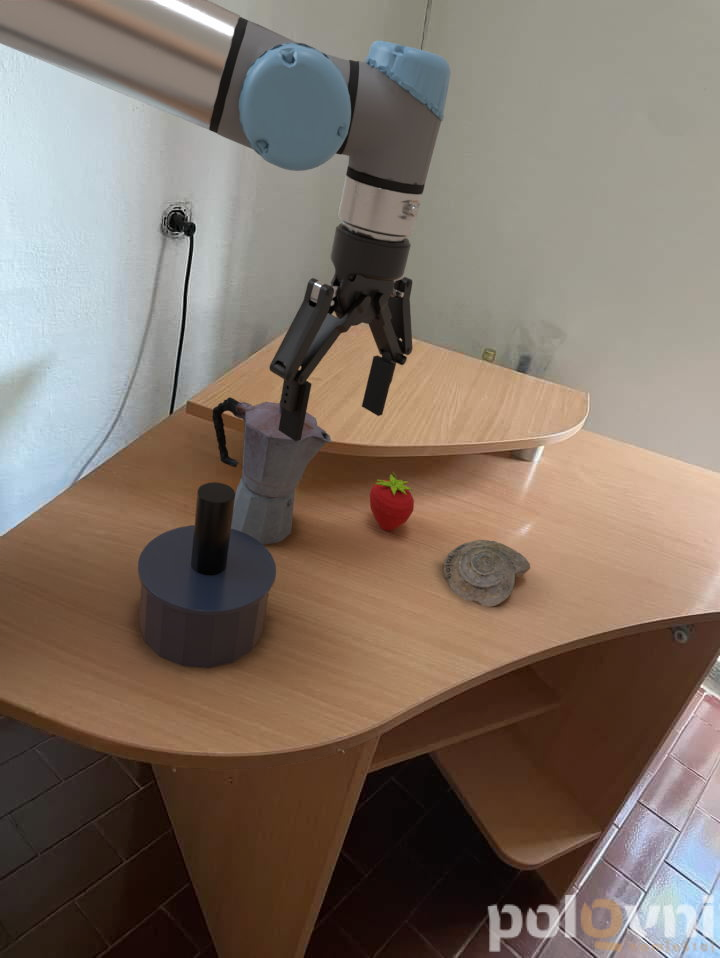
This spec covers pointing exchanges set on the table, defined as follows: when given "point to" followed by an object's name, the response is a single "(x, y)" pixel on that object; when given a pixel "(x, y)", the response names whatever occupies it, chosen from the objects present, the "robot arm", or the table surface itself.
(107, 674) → the table surface
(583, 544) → the table surface
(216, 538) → the pot lid
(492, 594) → the fossilized seashell
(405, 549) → the table surface
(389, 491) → the strawberry
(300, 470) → the moka pot
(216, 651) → the pot
